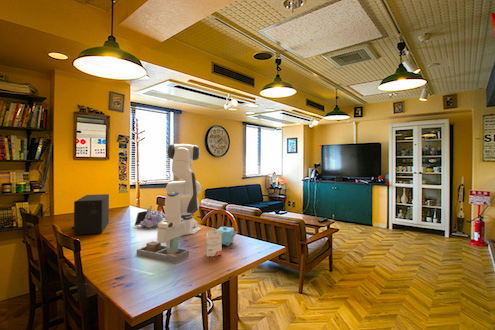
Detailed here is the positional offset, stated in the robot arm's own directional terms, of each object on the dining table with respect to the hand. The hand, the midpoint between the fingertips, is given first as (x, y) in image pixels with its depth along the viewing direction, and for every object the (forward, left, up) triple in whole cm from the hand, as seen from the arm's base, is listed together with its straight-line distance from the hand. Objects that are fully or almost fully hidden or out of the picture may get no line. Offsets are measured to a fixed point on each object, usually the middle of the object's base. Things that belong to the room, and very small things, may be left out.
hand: (172, 246), depth 141 cm
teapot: (-34, +14, -7) cm, 37 cm away
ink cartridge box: (-14, +18, -7) cm, 24 cm away
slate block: (0, 0, -3) cm, 3 cm away
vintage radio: (-21, -96, -7) cm, 99 cm away
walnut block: (0, -14, -6) cm, 15 cm away
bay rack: (0, -7, -7) cm, 9 cm away
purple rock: (-47, -61, -7) cm, 77 cm away
